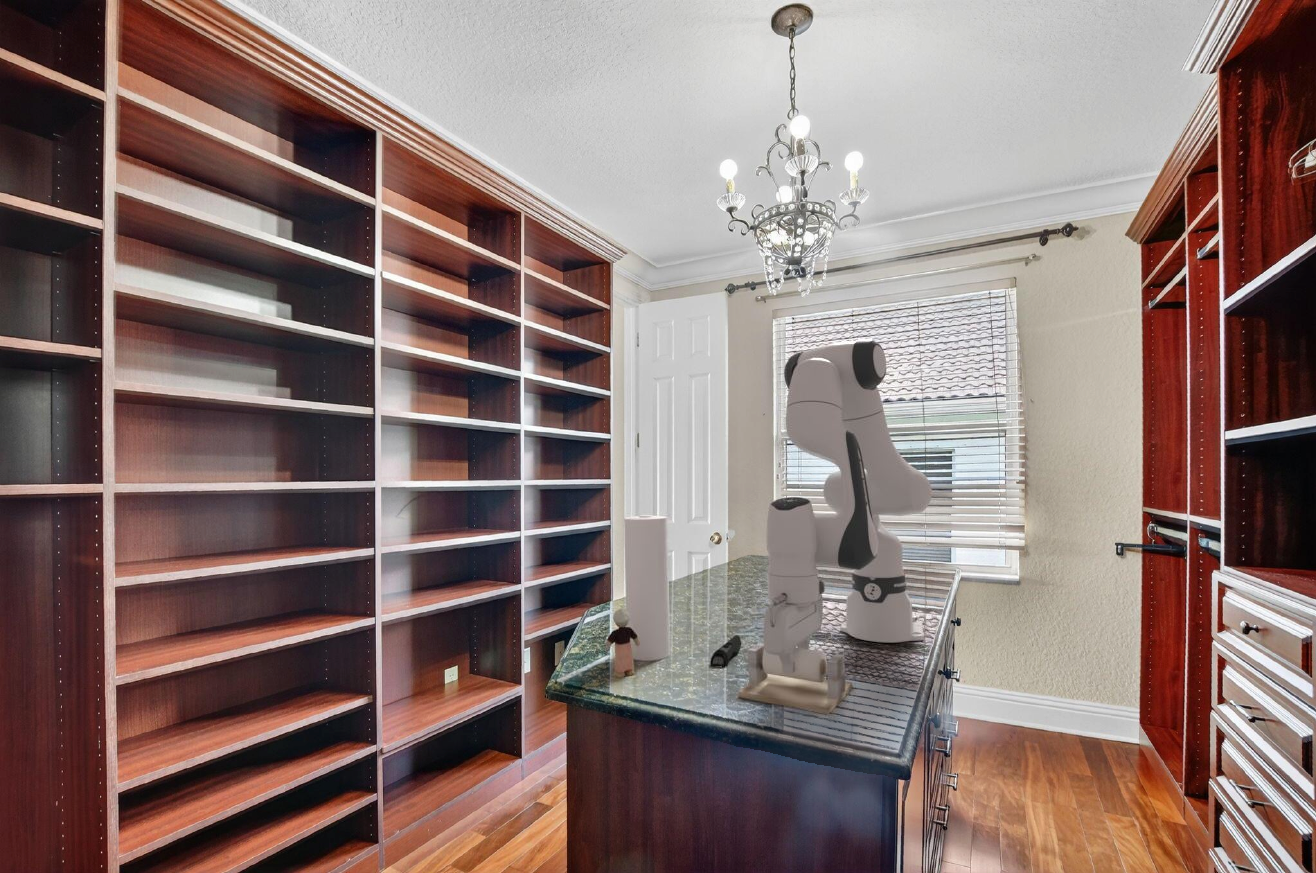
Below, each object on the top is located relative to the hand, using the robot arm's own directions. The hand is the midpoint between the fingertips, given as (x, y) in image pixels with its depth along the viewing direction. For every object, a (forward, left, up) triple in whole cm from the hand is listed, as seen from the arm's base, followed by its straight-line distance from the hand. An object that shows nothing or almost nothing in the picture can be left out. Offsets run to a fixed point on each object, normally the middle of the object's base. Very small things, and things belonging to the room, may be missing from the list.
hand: (795, 667), depth 113 cm
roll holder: (0, 0, -4) cm, 4 cm away
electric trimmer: (-13, -20, -5) cm, 25 cm away
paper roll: (-1, 0, -1) cm, 2 cm away
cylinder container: (-7, -36, -4) cm, 37 cm away
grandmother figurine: (+7, -33, -4) cm, 34 cm away
